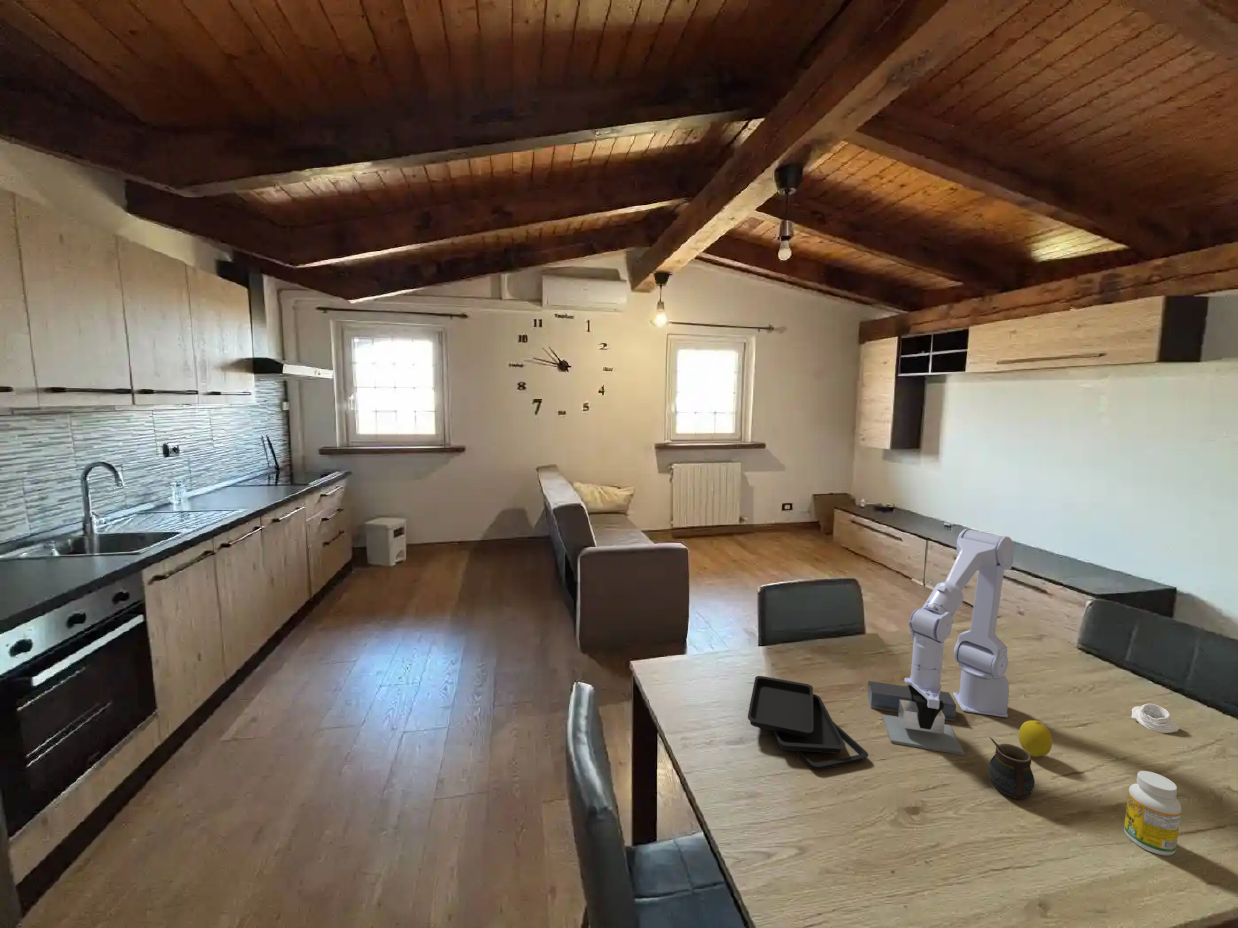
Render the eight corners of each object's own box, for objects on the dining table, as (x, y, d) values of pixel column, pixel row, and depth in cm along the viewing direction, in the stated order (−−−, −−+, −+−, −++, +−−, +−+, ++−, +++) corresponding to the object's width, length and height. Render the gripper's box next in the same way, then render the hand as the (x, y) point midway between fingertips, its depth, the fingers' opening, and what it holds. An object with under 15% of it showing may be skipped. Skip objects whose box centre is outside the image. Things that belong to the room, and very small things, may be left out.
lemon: (1043, 750, 114) (1047, 715, 113) (1054, 767, 109) (1058, 731, 108) (1012, 745, 116) (1016, 710, 115) (1022, 761, 111) (1026, 725, 110)
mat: (949, 727, 122) (949, 724, 122) (963, 755, 113) (964, 752, 112) (882, 716, 126) (882, 714, 126) (890, 742, 116) (891, 740, 116)
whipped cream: (1176, 729, 124) (1181, 710, 123) (1179, 740, 119) (1184, 720, 118) (1129, 713, 129) (1133, 694, 128) (1130, 723, 124) (1135, 703, 123)
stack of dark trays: (885, 756, 112) (887, 733, 112) (802, 790, 102) (803, 765, 102) (785, 686, 139) (786, 668, 139) (711, 708, 129) (712, 688, 129)
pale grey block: (937, 721, 120) (939, 702, 120) (943, 733, 116) (945, 714, 115) (898, 715, 122) (899, 696, 122) (902, 727, 118) (904, 707, 117)
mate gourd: (1041, 806, 98) (1047, 757, 97) (996, 800, 100) (1001, 751, 99) (1021, 780, 105) (1026, 733, 104) (978, 774, 107) (983, 728, 106)
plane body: (947, 707, 130) (948, 692, 129) (954, 720, 125) (956, 704, 124) (867, 695, 135) (868, 680, 134) (870, 707, 130) (872, 692, 129)
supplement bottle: (1177, 863, 86) (1187, 800, 85) (1124, 842, 90) (1132, 781, 89) (1172, 839, 91) (1181, 778, 90) (1121, 820, 95) (1129, 762, 94)
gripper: (899, 646, 125) (895, 700, 127) (914, 676, 111) (909, 737, 113) (933, 650, 123) (928, 705, 125) (952, 682, 109) (947, 743, 111)
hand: (921, 721), depth 119 cm, fingers closed on pale grey block, 5 cm apart
